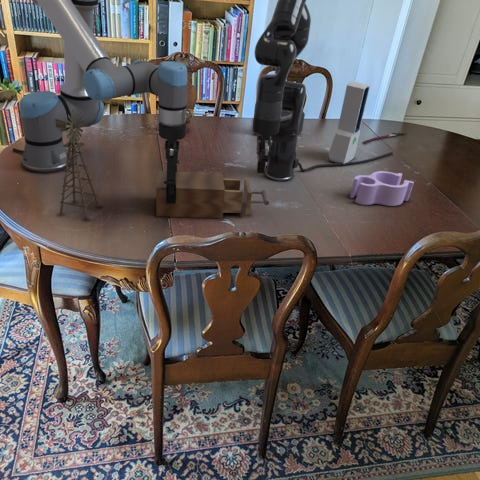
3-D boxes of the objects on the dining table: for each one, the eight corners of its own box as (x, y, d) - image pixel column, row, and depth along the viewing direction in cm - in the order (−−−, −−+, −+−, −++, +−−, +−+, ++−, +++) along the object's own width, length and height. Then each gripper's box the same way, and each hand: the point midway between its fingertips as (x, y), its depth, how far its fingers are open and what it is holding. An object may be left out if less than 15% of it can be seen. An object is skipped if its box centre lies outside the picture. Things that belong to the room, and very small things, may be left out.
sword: (401, 132, 223) (402, 129, 222) (407, 134, 221) (407, 131, 220) (358, 143, 207) (358, 140, 206) (363, 145, 205) (364, 143, 204)
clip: (362, 208, 153) (367, 189, 149) (343, 191, 163) (348, 173, 159) (412, 204, 159) (418, 185, 156) (392, 187, 169) (397, 170, 165)
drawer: (264, 200, 150) (266, 178, 145) (268, 216, 141) (271, 193, 137) (188, 197, 147) (188, 175, 142) (187, 213, 138) (188, 190, 134)
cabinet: (220, 200, 149) (222, 173, 144) (222, 218, 140) (224, 189, 134) (158, 198, 146) (158, 170, 141) (156, 216, 137) (156, 187, 132)
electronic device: (344, 166, 181) (362, 88, 165) (326, 160, 185) (342, 83, 168) (355, 157, 191) (373, 82, 174) (338, 152, 194) (354, 78, 177)
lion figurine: (191, 127, 202) (192, 107, 197) (195, 131, 198) (195, 111, 193) (158, 128, 197) (158, 107, 192) (160, 133, 193) (160, 111, 188)
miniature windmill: (85, 220, 131) (75, 116, 115) (58, 214, 132) (43, 110, 116) (100, 205, 139) (92, 105, 123) (74, 200, 140) (62, 101, 124)
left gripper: (186, 138, 119) (184, 213, 130) (186, 109, 138) (184, 176, 150) (156, 137, 118) (156, 212, 129) (160, 108, 137) (160, 175, 149)
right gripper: (284, 123, 124) (276, 182, 134) (277, 108, 135) (269, 163, 145) (257, 122, 123) (250, 181, 133) (251, 106, 134) (245, 162, 144)
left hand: (171, 193), depth 140 cm, fingers closed on cabinet, 11 cm apart
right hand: (260, 172), depth 139 cm, fingers closed
